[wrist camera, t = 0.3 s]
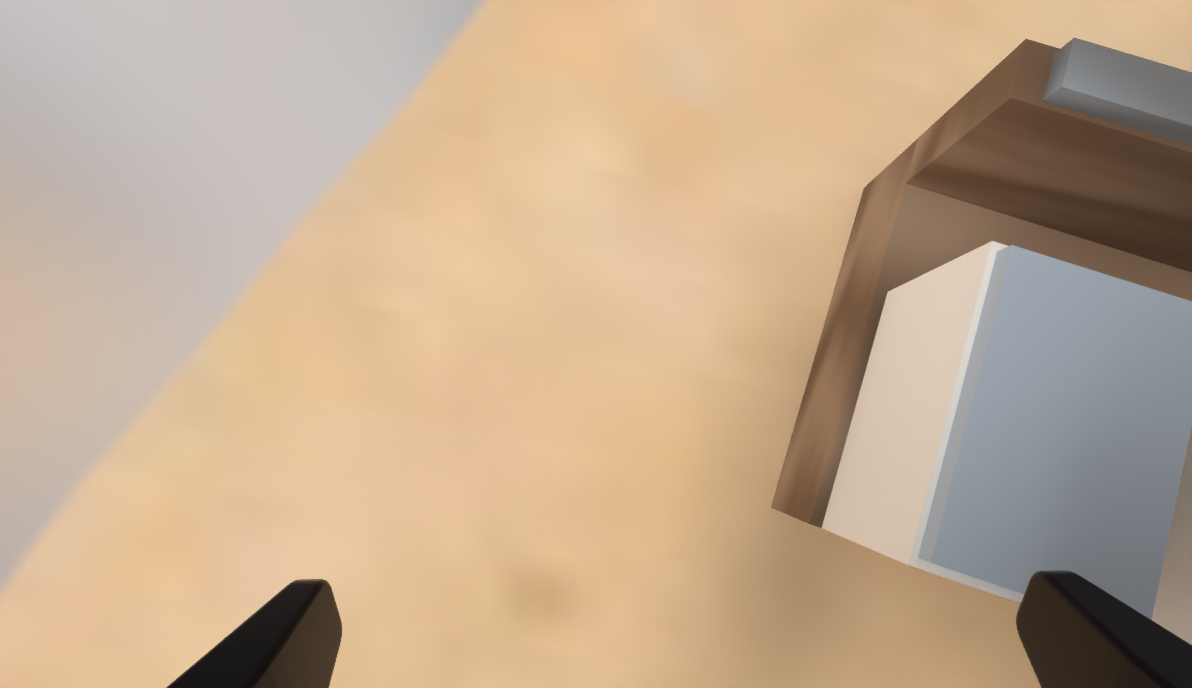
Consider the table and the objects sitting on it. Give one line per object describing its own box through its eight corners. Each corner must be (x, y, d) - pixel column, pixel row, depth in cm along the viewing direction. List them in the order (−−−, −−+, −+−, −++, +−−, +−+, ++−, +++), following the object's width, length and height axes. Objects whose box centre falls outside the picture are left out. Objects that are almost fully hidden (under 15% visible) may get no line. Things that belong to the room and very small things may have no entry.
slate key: (981, 582, 18) (1153, 649, 12) (821, 528, 18) (919, 569, 12) (1040, 340, 18) (1224, 302, 13) (887, 291, 19) (1007, 233, 13)
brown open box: (1147, 634, 21) (1585, 796, 12) (771, 507, 22) (902, 564, 13) (1217, 298, 23) (1655, 203, 13) (864, 187, 24) (1044, 22, 14)
